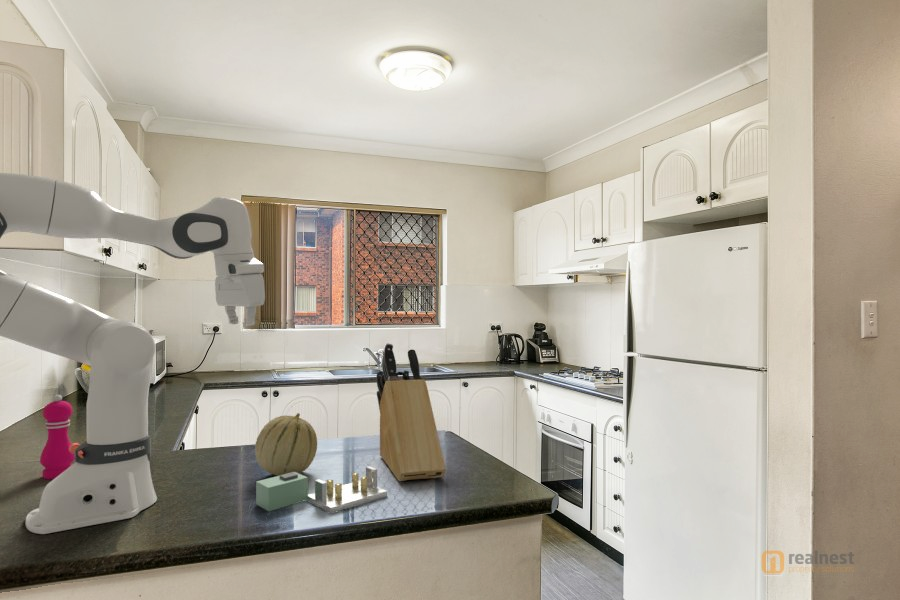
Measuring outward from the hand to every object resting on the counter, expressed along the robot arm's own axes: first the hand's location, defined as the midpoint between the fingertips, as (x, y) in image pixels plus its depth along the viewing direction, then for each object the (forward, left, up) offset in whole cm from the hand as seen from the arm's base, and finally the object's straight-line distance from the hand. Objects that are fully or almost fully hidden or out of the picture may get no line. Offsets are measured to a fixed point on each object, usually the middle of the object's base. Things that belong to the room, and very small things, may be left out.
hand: (242, 324), depth 130 cm
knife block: (+37, -17, -38) cm, 55 cm away
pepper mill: (-31, +36, -38) cm, 61 cm away
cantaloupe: (+10, -4, -38) cm, 39 cm away
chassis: (+12, -28, -37) cm, 48 cm away
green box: (+1, -20, -38) cm, 42 cm away
